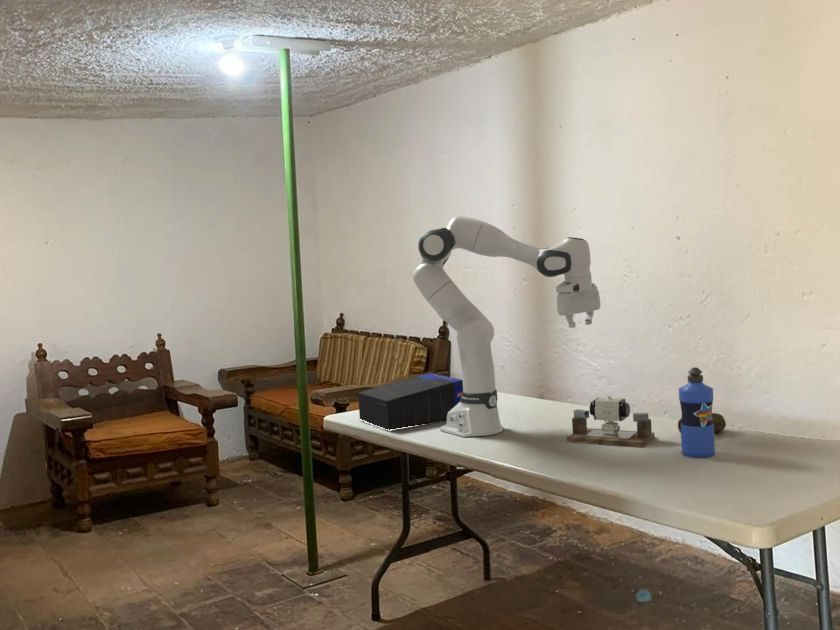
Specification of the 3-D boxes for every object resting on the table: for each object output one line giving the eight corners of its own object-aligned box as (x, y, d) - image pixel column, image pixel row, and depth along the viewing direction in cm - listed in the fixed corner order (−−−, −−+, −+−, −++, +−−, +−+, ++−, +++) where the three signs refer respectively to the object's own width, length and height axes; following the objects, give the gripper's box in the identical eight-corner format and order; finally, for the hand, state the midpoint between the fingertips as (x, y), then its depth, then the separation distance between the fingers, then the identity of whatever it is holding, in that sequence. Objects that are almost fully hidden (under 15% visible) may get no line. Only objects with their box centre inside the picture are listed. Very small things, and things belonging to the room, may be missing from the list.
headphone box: (472, 416, 307) (470, 378, 306) (389, 432, 290) (386, 392, 289) (438, 406, 329) (436, 371, 327) (359, 421, 312) (357, 384, 311)
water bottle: (674, 452, 239) (670, 368, 237) (699, 447, 243) (696, 364, 240) (696, 459, 231) (692, 372, 228) (722, 454, 234) (719, 368, 232)
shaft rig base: (567, 441, 260) (566, 421, 259) (581, 432, 271) (580, 413, 270) (642, 447, 247) (641, 426, 247) (654, 437, 258) (653, 417, 258)
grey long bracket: (569, 435, 262) (568, 413, 261) (578, 429, 269) (577, 408, 268) (645, 440, 249) (644, 417, 249) (652, 434, 256) (651, 412, 255)
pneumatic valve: (595, 430, 264) (593, 393, 263) (631, 433, 258) (629, 395, 257) (589, 434, 260) (587, 397, 259) (625, 437, 254) (624, 399, 252)
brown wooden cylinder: (692, 440, 252) (691, 419, 251) (676, 436, 258) (675, 415, 258) (728, 432, 258) (728, 411, 258) (712, 428, 264) (711, 408, 264)
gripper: (588, 282, 285) (590, 322, 287) (552, 287, 271) (554, 329, 273) (603, 282, 281) (605, 322, 282) (568, 287, 267) (570, 330, 268)
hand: (580, 326), depth 277 cm, fingers open, 8 cm apart
